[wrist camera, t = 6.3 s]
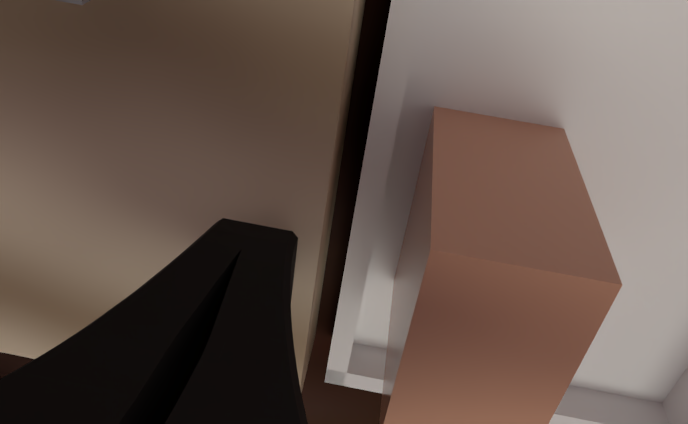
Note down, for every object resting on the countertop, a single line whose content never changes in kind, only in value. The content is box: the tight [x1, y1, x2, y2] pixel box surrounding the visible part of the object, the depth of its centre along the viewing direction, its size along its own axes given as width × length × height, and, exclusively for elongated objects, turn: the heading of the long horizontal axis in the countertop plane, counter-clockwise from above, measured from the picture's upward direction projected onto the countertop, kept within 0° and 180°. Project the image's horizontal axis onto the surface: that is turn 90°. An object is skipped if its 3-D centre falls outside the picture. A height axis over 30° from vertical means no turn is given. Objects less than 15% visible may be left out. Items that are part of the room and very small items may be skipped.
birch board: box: [0, 0, 366, 392], centre depth 11 cm, size 16×10×2 cm, turn 172°
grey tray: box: [325, 0, 688, 424], centre depth 10 cm, size 16×9×3 cm, turn 172°
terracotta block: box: [379, 106, 622, 424], centre depth 11 cm, size 4×4×2 cm
